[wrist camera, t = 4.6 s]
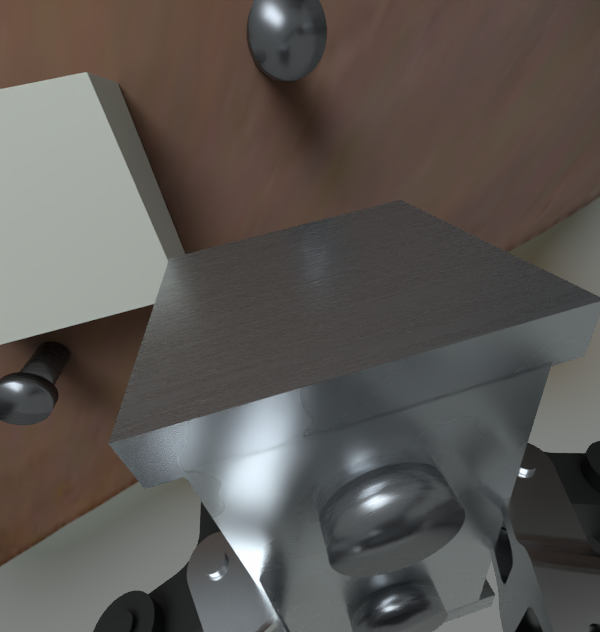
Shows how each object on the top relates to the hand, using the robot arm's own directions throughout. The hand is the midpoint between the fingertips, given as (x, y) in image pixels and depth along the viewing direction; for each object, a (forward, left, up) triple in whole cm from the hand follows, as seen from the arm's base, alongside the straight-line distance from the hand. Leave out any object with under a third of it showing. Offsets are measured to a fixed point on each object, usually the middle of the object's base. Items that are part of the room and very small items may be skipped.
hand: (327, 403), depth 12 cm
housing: (0, 0, -1) cm, 1 cm away
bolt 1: (+16, +3, -14) cm, 22 cm away
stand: (+12, -6, -14) cm, 19 cm away
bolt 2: (-3, -11, -14) cm, 18 cm away
